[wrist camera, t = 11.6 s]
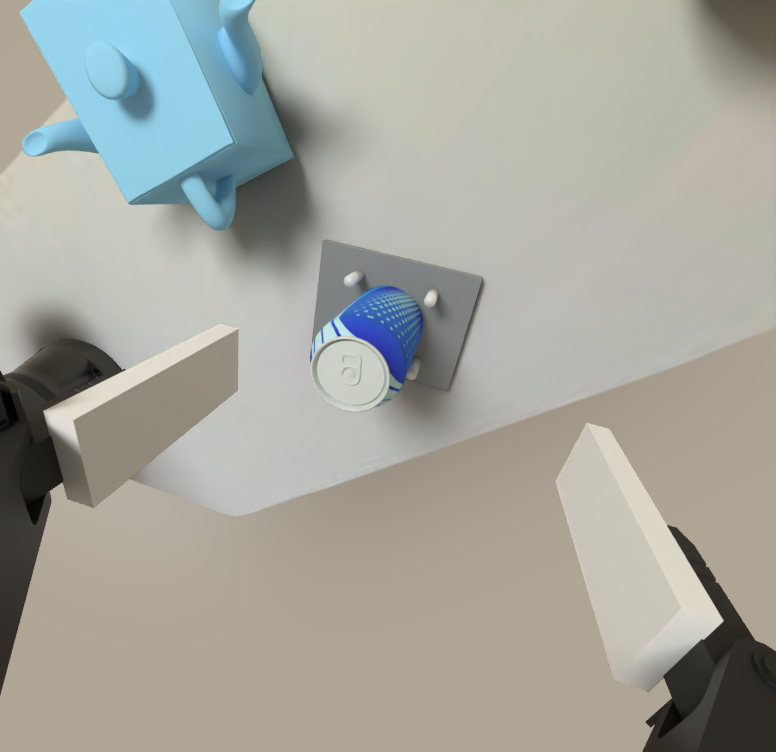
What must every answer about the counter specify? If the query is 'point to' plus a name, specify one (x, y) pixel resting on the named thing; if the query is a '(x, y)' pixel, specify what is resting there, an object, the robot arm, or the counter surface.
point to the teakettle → (161, 97)
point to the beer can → (366, 349)
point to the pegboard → (422, 282)
